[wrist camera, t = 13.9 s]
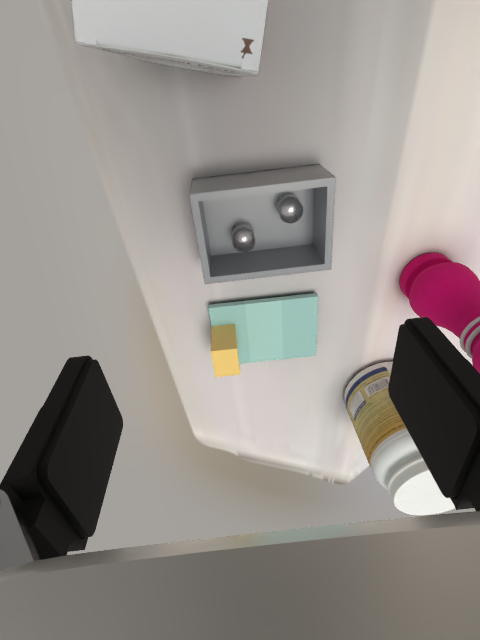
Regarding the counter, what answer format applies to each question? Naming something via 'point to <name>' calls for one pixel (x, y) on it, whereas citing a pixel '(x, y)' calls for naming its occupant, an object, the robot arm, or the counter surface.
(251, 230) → the dark grey rounded piece
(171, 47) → the supplement box
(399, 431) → the supplement tub
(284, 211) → the chrome mushroom knob
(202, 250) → the tub
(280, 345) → the lid
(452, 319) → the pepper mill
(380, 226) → the counter surface
